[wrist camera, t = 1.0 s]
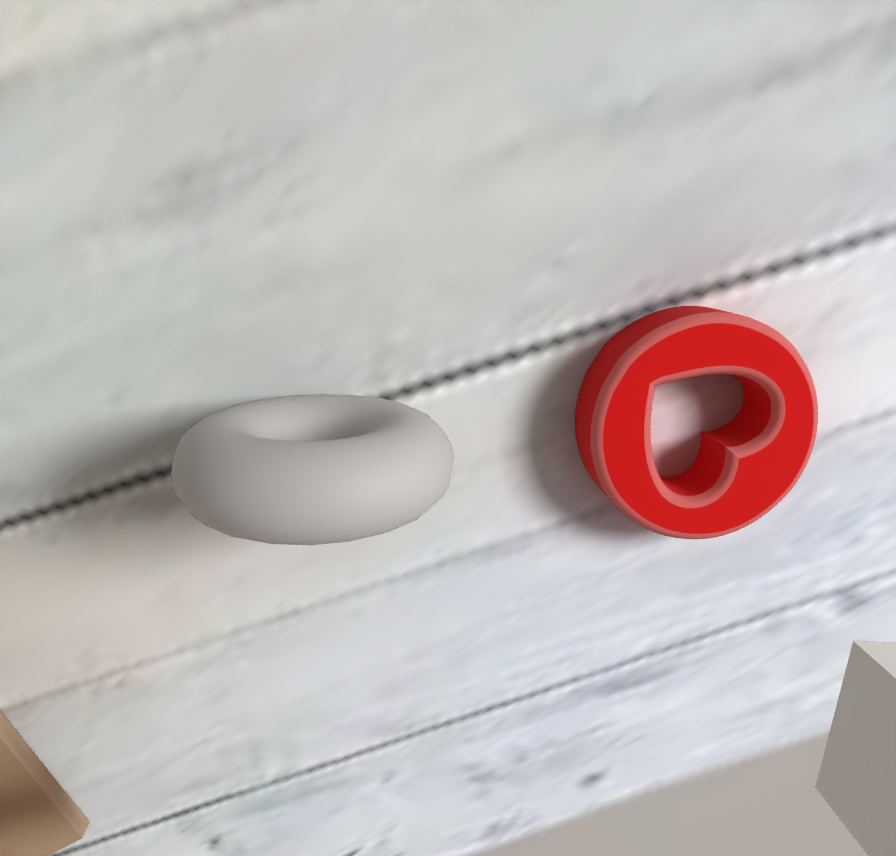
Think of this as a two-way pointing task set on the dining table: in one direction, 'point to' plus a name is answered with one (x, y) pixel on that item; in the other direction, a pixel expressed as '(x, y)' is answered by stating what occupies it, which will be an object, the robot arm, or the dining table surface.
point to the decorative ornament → (721, 451)
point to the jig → (32, 802)
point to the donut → (312, 468)
